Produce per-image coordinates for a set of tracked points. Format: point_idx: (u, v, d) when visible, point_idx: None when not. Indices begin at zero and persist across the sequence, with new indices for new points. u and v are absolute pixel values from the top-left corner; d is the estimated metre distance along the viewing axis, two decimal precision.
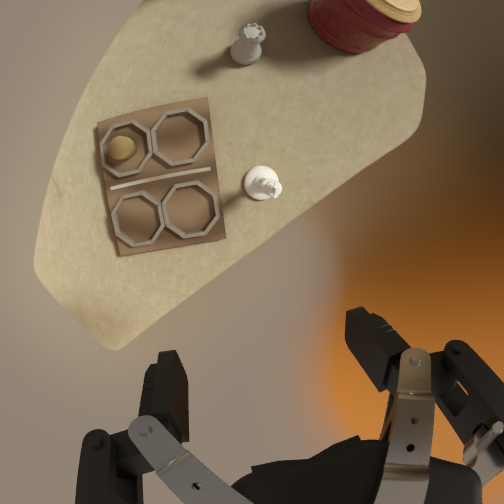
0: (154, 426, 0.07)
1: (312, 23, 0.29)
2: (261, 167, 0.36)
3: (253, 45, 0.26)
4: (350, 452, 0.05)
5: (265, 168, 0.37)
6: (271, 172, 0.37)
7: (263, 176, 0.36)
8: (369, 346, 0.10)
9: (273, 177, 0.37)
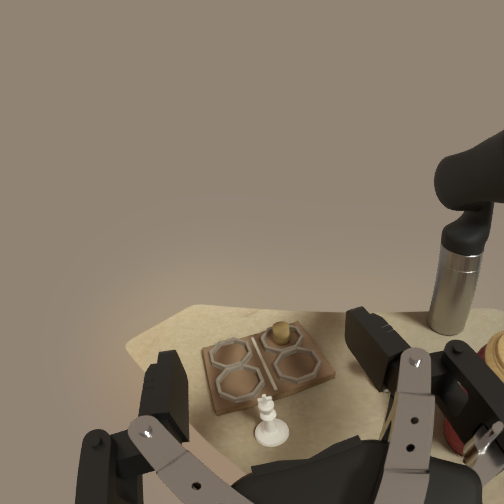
0: (154, 426, 0.07)
1: None
2: (286, 426, 0.32)
3: None
4: (350, 452, 0.05)
5: (287, 430, 0.32)
6: (284, 435, 0.31)
7: (278, 426, 0.32)
8: (369, 346, 0.10)
9: (279, 437, 0.31)
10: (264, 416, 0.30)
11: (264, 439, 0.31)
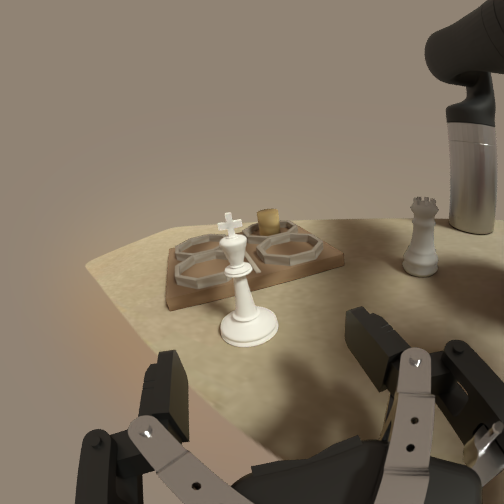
0: (154, 426, 0.07)
1: None
2: (273, 314, 0.23)
3: (418, 222, 0.24)
4: (350, 452, 0.05)
5: (274, 318, 0.22)
6: (268, 324, 0.21)
7: (258, 310, 0.22)
8: (369, 346, 0.10)
9: (260, 327, 0.21)
10: (231, 269, 0.20)
11: (234, 331, 0.21)
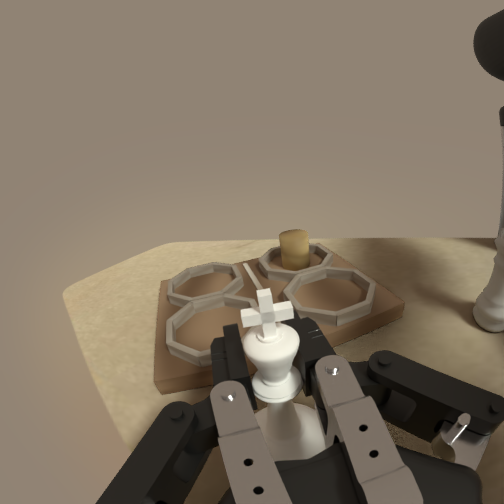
0: (238, 393, 0.08)
1: None
2: None
3: None
4: None
5: None
6: (318, 444, 0.11)
7: (302, 422, 0.12)
8: None
9: (307, 451, 0.10)
10: (266, 387, 0.10)
11: None
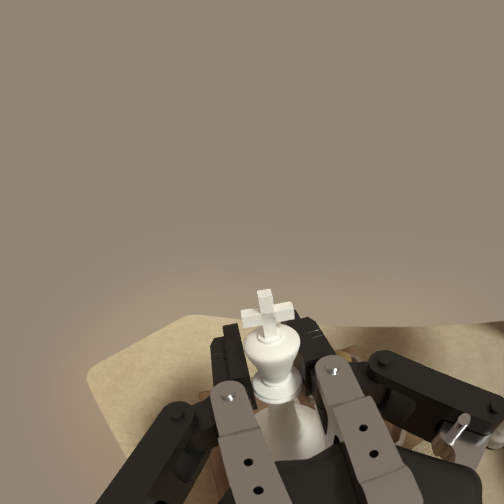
0: (238, 393, 0.08)
1: None
2: None
3: None
4: None
5: None
6: (319, 445, 0.11)
7: (303, 422, 0.12)
8: None
9: (307, 452, 0.10)
10: (266, 388, 0.10)
11: None
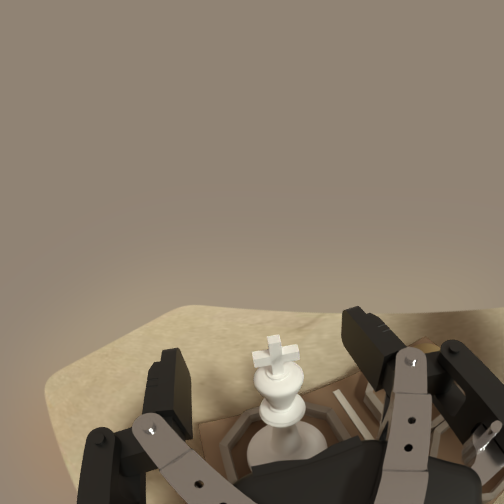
0: (158, 423, 0.07)
1: None
2: (322, 438, 0.13)
3: None
4: (350, 452, 0.05)
5: (324, 446, 0.12)
6: None
7: (303, 439, 0.12)
8: (365, 346, 0.10)
9: None
10: (272, 413, 0.10)
11: None
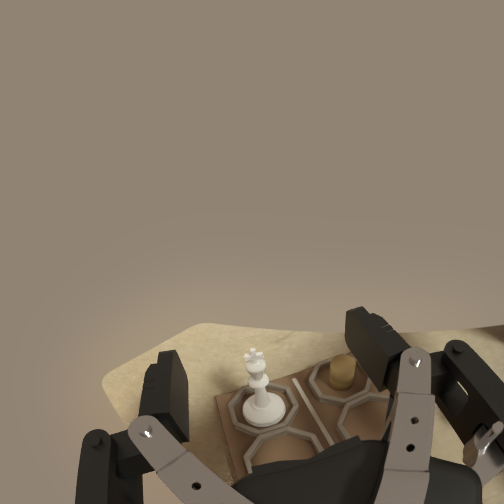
0: (153, 426, 0.07)
1: None
2: (282, 402, 0.27)
3: None
4: (350, 452, 0.05)
5: (282, 406, 0.27)
6: (278, 412, 0.26)
7: (271, 400, 0.27)
8: (369, 346, 0.10)
9: (272, 414, 0.25)
10: (253, 382, 0.25)
11: (254, 416, 0.26)
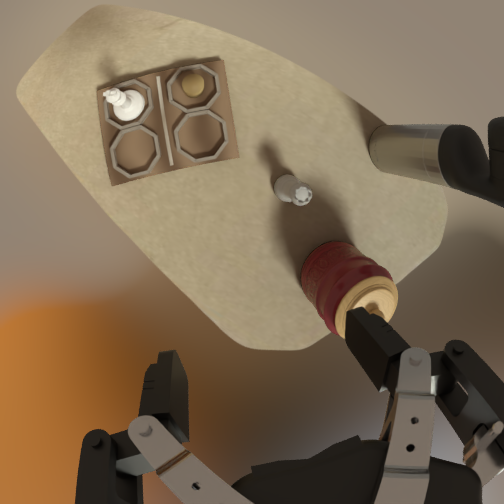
0: (154, 426, 0.07)
1: (324, 245, 0.47)
2: (141, 101, 0.32)
3: (290, 195, 0.38)
4: (350, 452, 0.05)
5: (141, 105, 0.33)
6: (137, 111, 0.33)
7: (132, 102, 0.31)
8: (369, 346, 0.10)
9: (132, 113, 0.33)
10: None
11: (119, 113, 0.32)
